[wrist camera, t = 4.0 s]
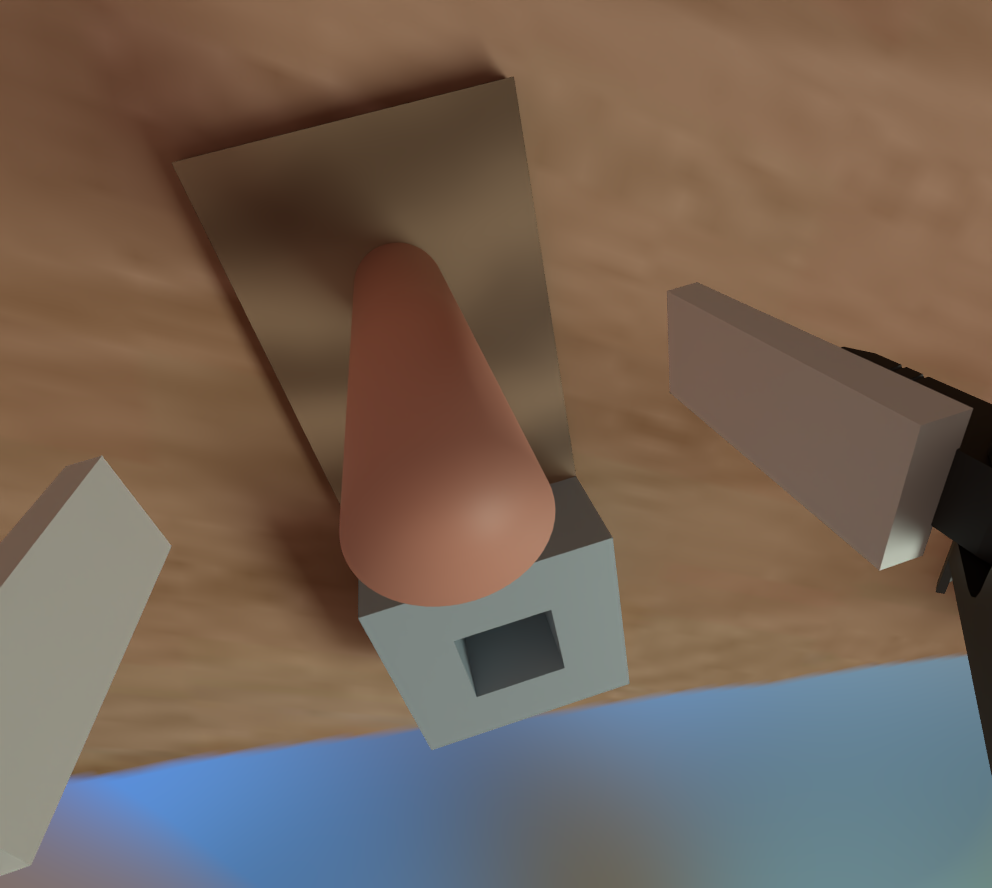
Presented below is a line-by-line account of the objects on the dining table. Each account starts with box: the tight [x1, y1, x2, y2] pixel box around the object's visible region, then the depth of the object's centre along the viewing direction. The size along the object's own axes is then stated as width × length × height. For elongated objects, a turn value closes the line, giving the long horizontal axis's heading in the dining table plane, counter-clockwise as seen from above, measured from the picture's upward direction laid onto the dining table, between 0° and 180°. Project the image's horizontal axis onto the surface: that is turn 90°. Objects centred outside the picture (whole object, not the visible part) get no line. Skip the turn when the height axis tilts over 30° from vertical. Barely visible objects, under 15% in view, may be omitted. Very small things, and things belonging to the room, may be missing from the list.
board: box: [172, 77, 576, 505], centre depth 27 cm, size 30×12×1 cm, turn 12°
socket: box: [358, 476, 629, 750], centre depth 29 cm, size 12×12×5 cm
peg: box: [339, 242, 555, 607], centre depth 15 cm, size 4×4×15 cm
